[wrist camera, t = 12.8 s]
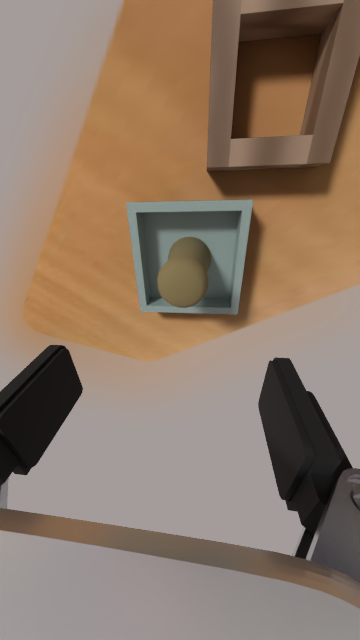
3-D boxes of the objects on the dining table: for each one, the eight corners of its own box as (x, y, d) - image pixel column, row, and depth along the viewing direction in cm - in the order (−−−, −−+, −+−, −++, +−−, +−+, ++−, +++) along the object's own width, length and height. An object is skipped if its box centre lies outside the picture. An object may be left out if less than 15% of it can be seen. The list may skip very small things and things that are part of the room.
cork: (198, 287, 31) (194, 326, 22) (161, 268, 30) (140, 300, 21) (219, 249, 28) (226, 276, 19) (179, 228, 27) (164, 244, 18)
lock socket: (357, -10, 17) (389, -53, 14) (313, 167, 23) (330, 162, 20) (212, 6, 19) (214, -30, 16) (206, 171, 25) (207, 167, 22)
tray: (246, 199, 26) (253, 199, 22) (234, 302, 33) (237, 314, 29) (136, 202, 27) (126, 202, 24) (147, 300, 34) (140, 311, 31)
